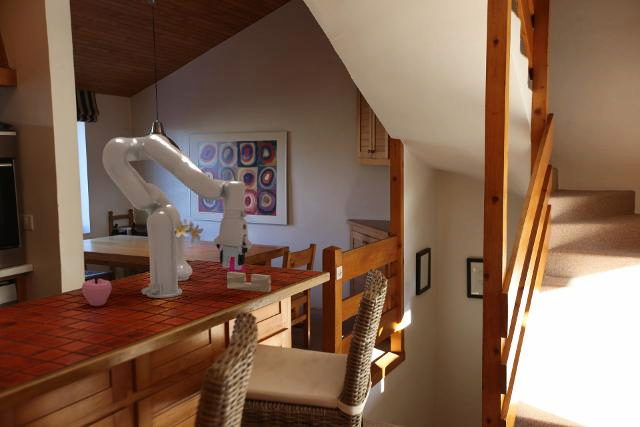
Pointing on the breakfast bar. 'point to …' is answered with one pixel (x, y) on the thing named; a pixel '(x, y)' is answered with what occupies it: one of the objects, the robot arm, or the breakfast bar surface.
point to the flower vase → (180, 232)
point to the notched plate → (231, 252)
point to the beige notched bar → (257, 283)
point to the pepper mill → (232, 265)
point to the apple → (96, 291)
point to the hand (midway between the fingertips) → (232, 263)
